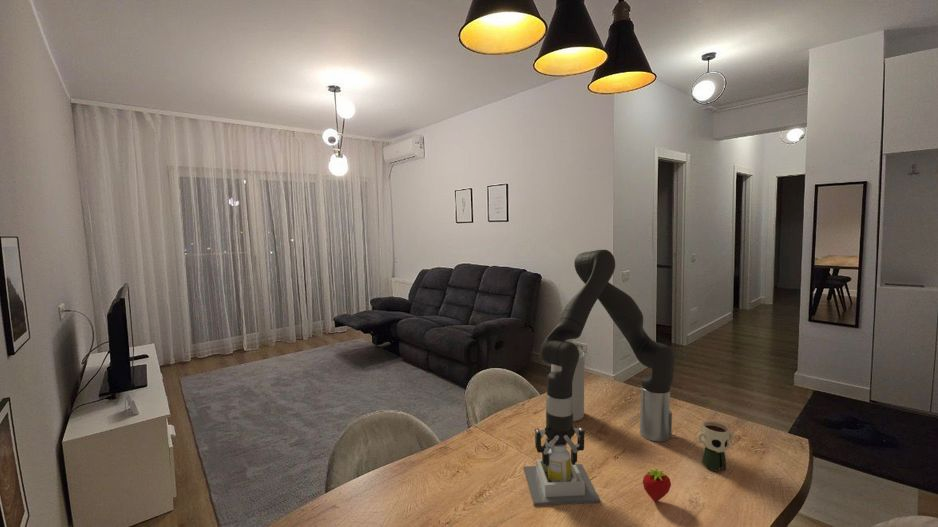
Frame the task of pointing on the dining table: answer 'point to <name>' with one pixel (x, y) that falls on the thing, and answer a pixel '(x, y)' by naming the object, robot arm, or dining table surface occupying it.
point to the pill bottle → (559, 464)
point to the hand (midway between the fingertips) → (559, 463)
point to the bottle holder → (559, 486)
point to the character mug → (715, 444)
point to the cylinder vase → (576, 386)
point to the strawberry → (656, 484)
